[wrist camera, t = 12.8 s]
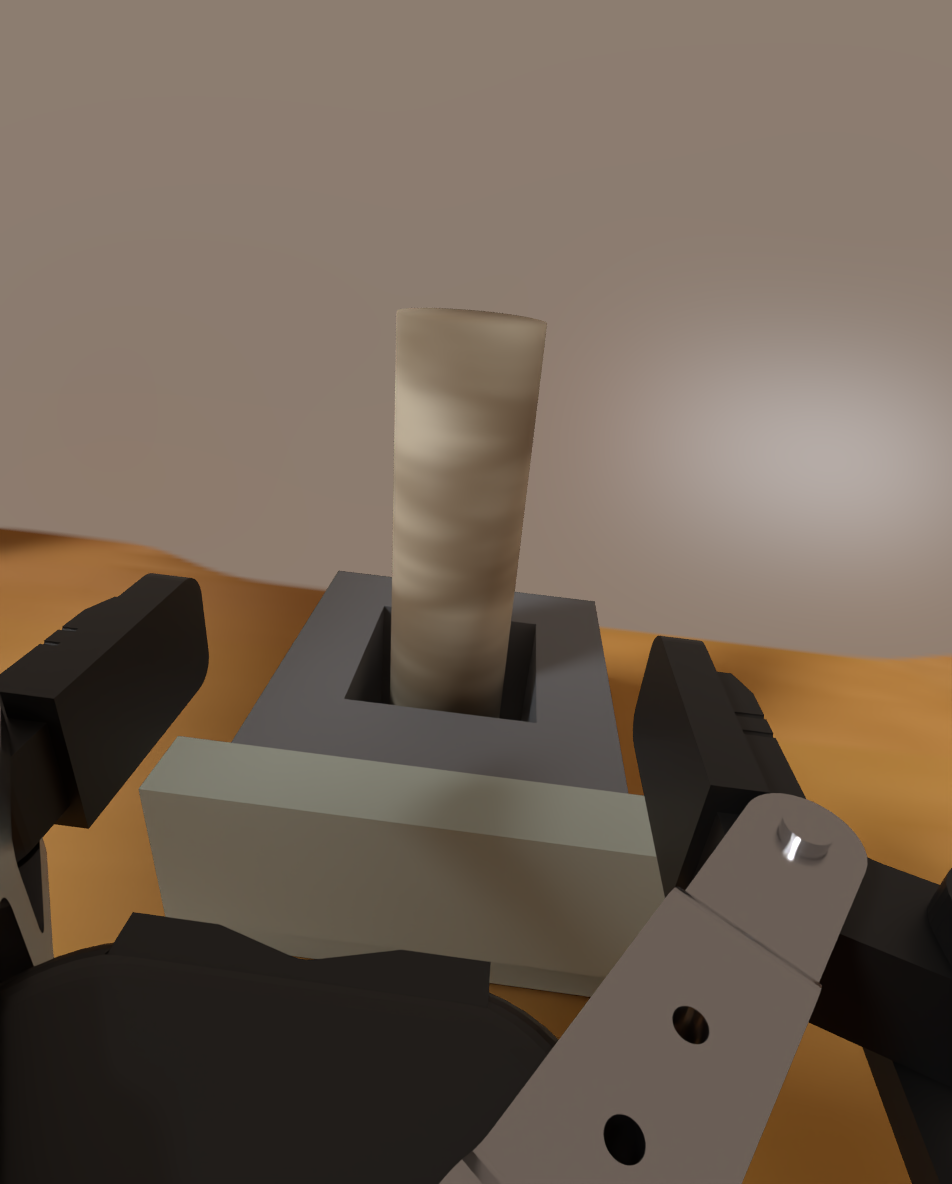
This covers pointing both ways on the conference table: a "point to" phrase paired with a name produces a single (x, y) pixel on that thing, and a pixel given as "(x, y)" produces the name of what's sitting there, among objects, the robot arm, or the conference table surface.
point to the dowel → (459, 501)
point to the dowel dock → (416, 807)
